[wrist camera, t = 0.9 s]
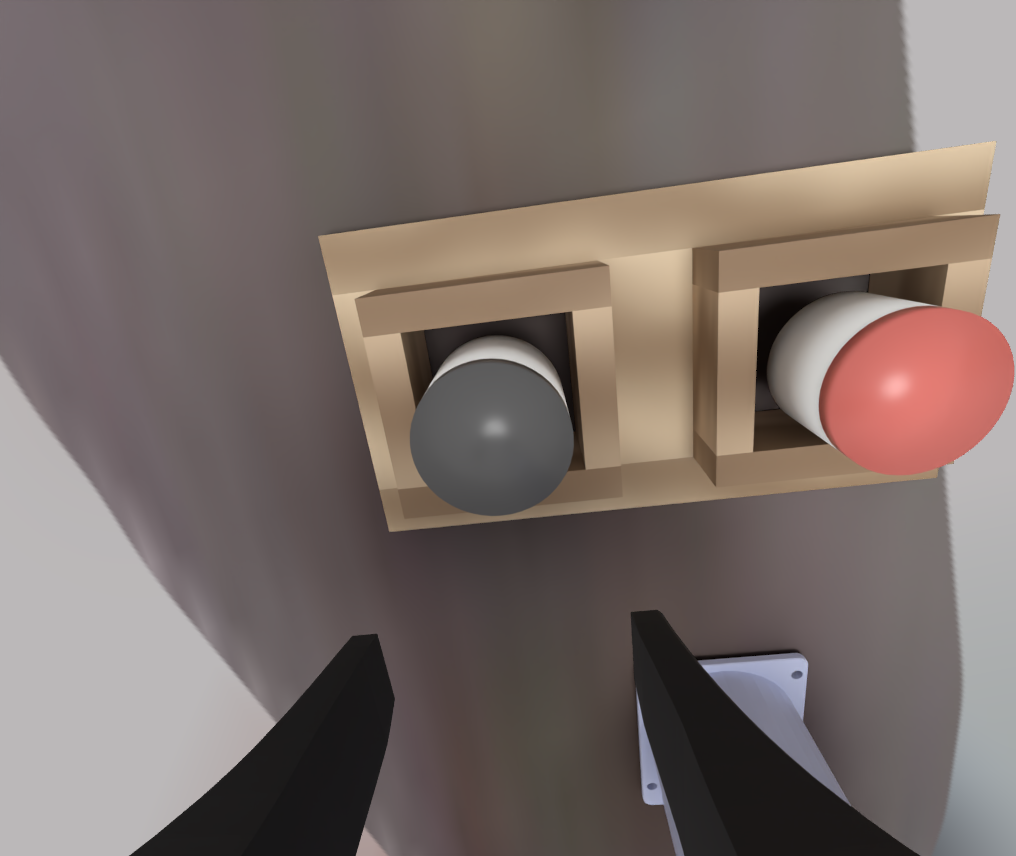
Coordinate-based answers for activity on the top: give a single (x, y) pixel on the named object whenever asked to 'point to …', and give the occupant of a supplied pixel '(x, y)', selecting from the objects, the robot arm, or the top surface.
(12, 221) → the top surface
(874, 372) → the plug red
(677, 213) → the socket panel
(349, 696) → the robot arm
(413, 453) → the grey plug
